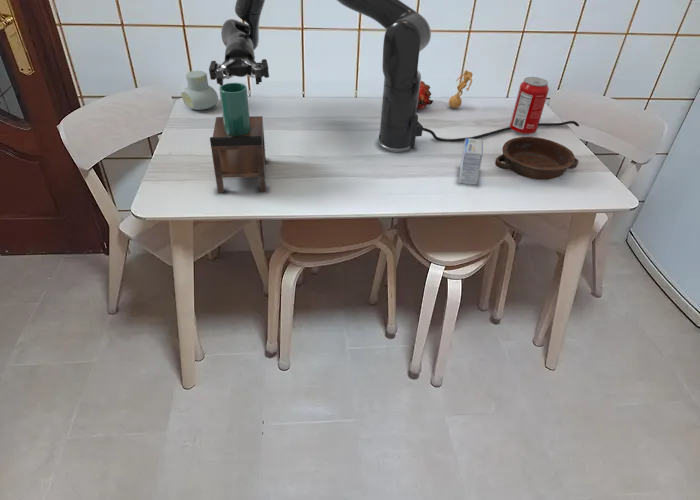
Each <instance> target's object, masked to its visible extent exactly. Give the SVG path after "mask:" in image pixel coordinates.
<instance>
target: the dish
mask: <svg viewBox="0 0 700 500" xmlns="http://www.w3.org/2000/svg"><path fill="white" fill-rule="evenodd" d="M501 151H502V154H500V155H498V156H497V157H496V158H495V160H494V165H495V166H496V167H497V168H499V169H500V170H507V171H508V170H509V171H511V172H513V173H515V174H517V175H518V176H521V177H524V178H527V179H531V180H539V181H549V180H554V179H555V180H556V179H557V178H560V177H562V176H563V175H564V174H565V173H566V172H567V170H571V169H575V168H577V166H578V165H579V160H578V158H577V157H575V155H574V153H573V151H572V150H571V149H570V148H568V147H566V146H565V145H564V144H561V143H559V142H555V141H554V140H551V139H547V138H543V137H537V136H536V137H535V136H518V137H513V138H511V139H508V140H507V141H506V142H504V144H503V145H502V148H501Z"/></svg>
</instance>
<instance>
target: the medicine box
mask: <svg viewBox="0 0 700 500" xmlns="http://www.w3.org/2000/svg"><path fill="white" fill-rule="evenodd" d="M465 138H466V139H465V141H464V144H463V149H462V155H461V158H460V159H461V160H460V165H459V175H458V176H459V178H458V179H459V180H458V184H465V185H473V186H476V185H478V181H479V174H480V171H481V165H482V161H483V157H484V141H483V140H482V139H479V138H478V139H470V138H468V137H465Z"/></svg>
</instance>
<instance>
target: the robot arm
mask: <svg viewBox="0 0 700 500" xmlns="http://www.w3.org/2000/svg"><path fill="white" fill-rule="evenodd" d="M265 2H266V0H236V2H235V5H234V12H235V14H236V16H237V17H238V18H239V19H241V20H243V21H244V22H243V21H239V20H238V19H233V18H229V19H227V20H225V21H224V23H223V24H222V26H221V30H220V31H221V32H220V35H221V41H222V43H223V45H224V46H225V52H224V61H223V62H222V63H218V62H217V61H216V60H211V61H210V64H209V67H208V72H209V73H208V74H209V80H211V81H214V80H216V84H217V85H219V87H220V86H222V85H224V80H229V79H231V78H233V77H237V78H238V77H239V78H243V77H244V78H245V77H249V78H251V79H254V78H255V85H260V83H262V82H263V77H264V78H266V79H268V78H270V72H269V65H268V60H267V59H266V58H262V59H261V61H260V62H257V61H256V60H255V59H256V56H255V50H256V49H257V48H258V46H259V41H260V21H261V15H262V12H263V9H264V5H265ZM336 2H338V3H339V4H341V5H342V6H344V7H346V8H348V9H350V10H352V11H355V12H356V13H358V14H361V15H363V16H366V17H368V18H370V19H372V20H373V21H375V22H376V23H378V24H379V25H380V26H381V27H383V28H384V29H385V33H384V37H383V45H382V64H381V65H382V66H381V67H382V74H383V91H382V101H381V115H380V124H379V125H380V126H379V135H378V146H379V147H380V148H381V149H382V150H385V151H388V152H392V153H404V152H407V151H410V150H415V144H416V137H422V136H423V132H426V133H428V134H430V135H431V136H432V137H433V139H434V140H436V141H438V142H447V143H448V142H449V143H455V142H465V139H466V138H470V139H478V140H479V139H481V138H485V137H488V136H492V135H496V134H499V133H502V132H506V131H510V130H511V131H512V129H511V127H510V126H509V127H504V128H500V129H497V130H494V131H489V132H486V133H481V134H479V135H474V136H469V137H460V138H459V137H458V138H442V137H439V136H437V134H436V133H435V132H434V131H433V130H431V129H430V128H426V127H424V126H423V125H422V124H421V122H420V121H419V115H418V113H417V112H418V108H417V105H418V97H419V89H420V82H421V81H422V74H421V72H420V71H419V59H420V58H419V57H420V52H421V51H423V50H424V49H426V48H427V46H428V45H429V43H430V42H431V38H432V31H431V27H430V24H429V22H428V20H427V19H426V18H425V17H423V15H421V14H420V13H419V12H418V11H416V10H415V9H413V8H411V7H410V6H408V5H407V4H405V3H404V2H403V1H402V0H336ZM566 125H574V126H576V127H580V124H579V123H578V122H577V121H575V120H568V121H563V122H553V123H552V122H551V123H550V122H539V125H538V127H561V126H566Z"/></svg>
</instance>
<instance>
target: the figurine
mask: <svg viewBox="0 0 700 500" xmlns="http://www.w3.org/2000/svg"><path fill="white" fill-rule="evenodd" d="M472 77H473V73H472V72H471V71H468V70H467V69H465V70H464V72H463V73H462V74H461V75H460V76H459V77H458V78H457V79H456V82H458V81H459V80H460V79H461V78H463V79H462V80H461V82H460V83H459V84H458V85H457V86H456V89H457V91H458V92H457V93H456V94H454V95H452V96H450V98H449V99H448V105H449V107H450V108H452V109H454V110H455V109H459V108H460V107H461V105H462V103H463V102H462V98H461V96H462V95H463V90H464V89H465V88H466V87H467V85H468V87H467V88H466V89H465V90H466V91H469V90H470V87H471V86H472V83H473V78H472ZM467 83H469V84H467Z"/></svg>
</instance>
